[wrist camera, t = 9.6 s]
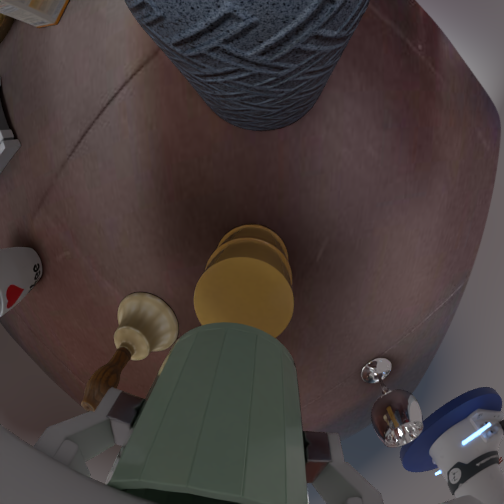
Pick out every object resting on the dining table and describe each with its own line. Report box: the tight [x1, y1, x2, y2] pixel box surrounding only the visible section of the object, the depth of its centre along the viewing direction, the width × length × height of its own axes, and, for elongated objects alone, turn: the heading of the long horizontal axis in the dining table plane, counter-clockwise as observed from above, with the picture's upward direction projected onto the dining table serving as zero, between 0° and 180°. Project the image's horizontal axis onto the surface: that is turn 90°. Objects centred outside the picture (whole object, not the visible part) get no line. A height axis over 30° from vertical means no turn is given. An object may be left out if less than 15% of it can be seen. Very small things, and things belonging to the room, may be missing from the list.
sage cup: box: [105, 322, 309, 504], centre depth 9 cm, size 6×6×8 cm
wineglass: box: [361, 358, 423, 448], centre depth 29 cm, size 6×6×12 cm
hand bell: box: [82, 292, 178, 412], centre depth 27 cm, size 8×8×16 cm
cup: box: [0, 247, 42, 317], centre depth 29 cm, size 8×8×10 cm
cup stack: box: [194, 224, 294, 338], centre depth 26 cm, size 8×8×11 cm
